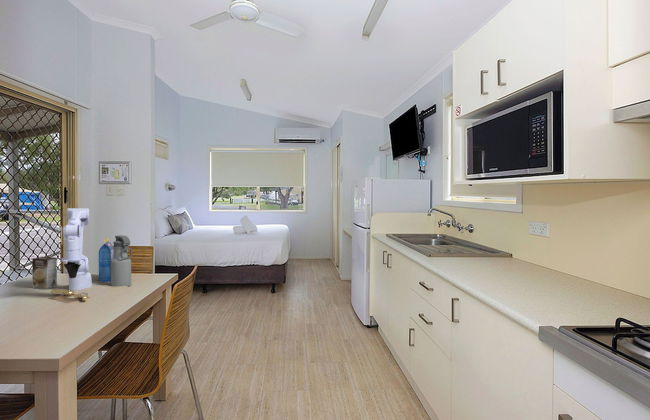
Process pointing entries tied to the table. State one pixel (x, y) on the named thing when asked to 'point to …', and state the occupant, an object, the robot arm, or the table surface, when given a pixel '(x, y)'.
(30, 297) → the table surface
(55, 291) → the lever
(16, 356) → the table surface
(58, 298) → the base
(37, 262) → the coffee box
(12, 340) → the table surface
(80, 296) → the lever
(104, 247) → the blue plastic bottle
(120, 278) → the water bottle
